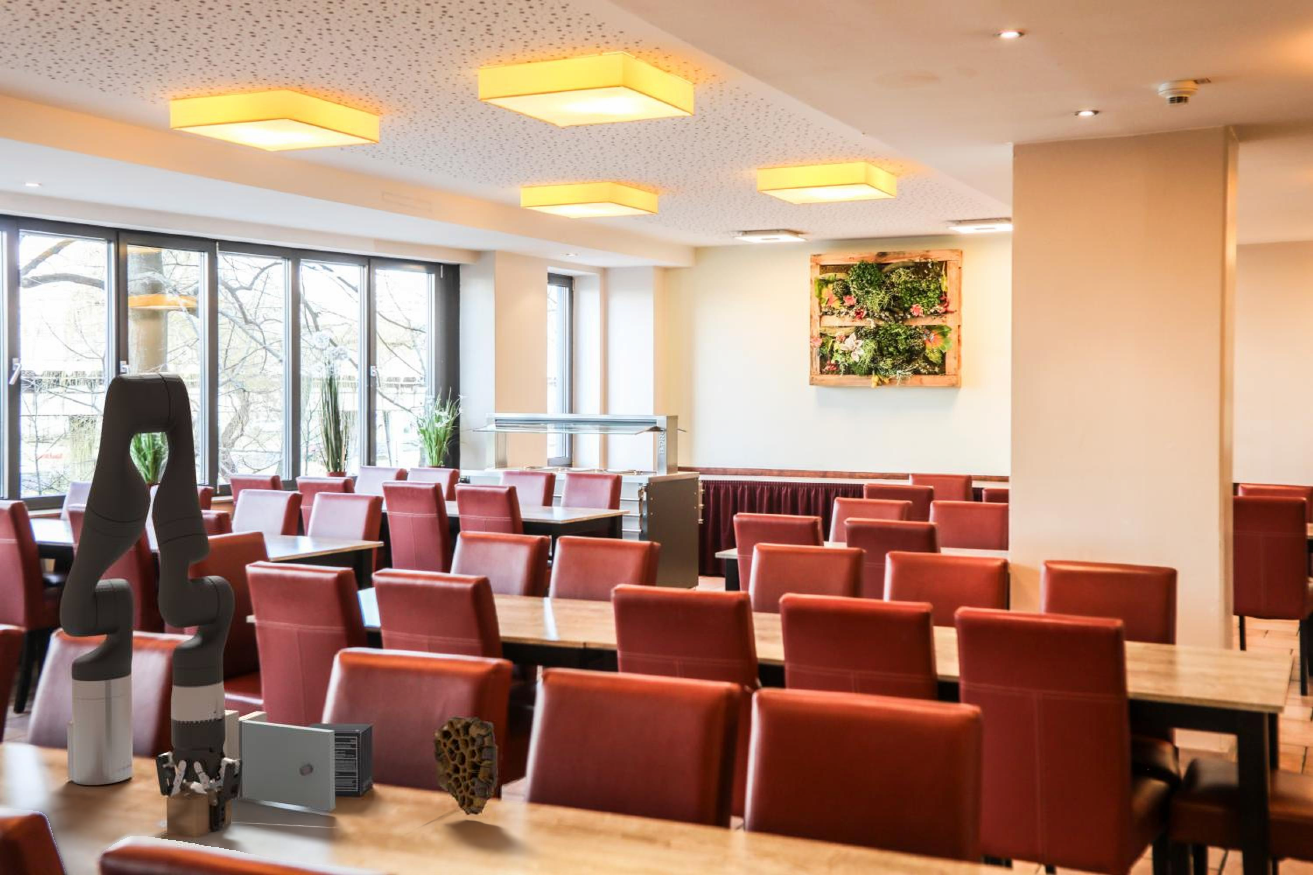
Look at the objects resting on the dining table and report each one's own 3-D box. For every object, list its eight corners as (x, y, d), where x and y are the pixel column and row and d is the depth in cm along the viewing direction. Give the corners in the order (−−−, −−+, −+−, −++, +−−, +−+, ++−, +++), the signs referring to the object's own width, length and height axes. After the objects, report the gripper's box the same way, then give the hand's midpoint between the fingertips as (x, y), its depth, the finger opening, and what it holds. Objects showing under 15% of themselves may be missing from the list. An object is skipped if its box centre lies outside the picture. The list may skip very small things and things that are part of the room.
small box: (374, 785, 211) (374, 722, 211) (361, 797, 204) (361, 732, 204) (313, 783, 212) (312, 721, 212) (298, 795, 205) (297, 730, 205)
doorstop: (167, 838, 185) (166, 797, 185) (203, 821, 192) (202, 782, 192) (195, 842, 183) (195, 800, 183) (230, 825, 191) (230, 785, 191)
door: (324, 812, 193) (323, 734, 193) (231, 799, 200) (230, 723, 200) (335, 808, 195) (334, 730, 195) (242, 794, 202) (242, 719, 202)
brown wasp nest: (425, 815, 195) (425, 718, 194) (437, 807, 199) (437, 712, 198) (495, 821, 192) (494, 722, 191) (505, 813, 196) (505, 716, 195)
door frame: (114, 845, 182) (113, 747, 181) (254, 782, 213) (253, 698, 212) (131, 847, 181) (130, 749, 181) (269, 783, 212) (269, 700, 211)
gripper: (140, 714, 186) (141, 829, 187) (222, 722, 182) (224, 839, 182) (175, 703, 193) (176, 814, 194) (255, 710, 189) (256, 823, 189)
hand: (199, 826), depth 188 cm, fingers open, 5 cm apart
